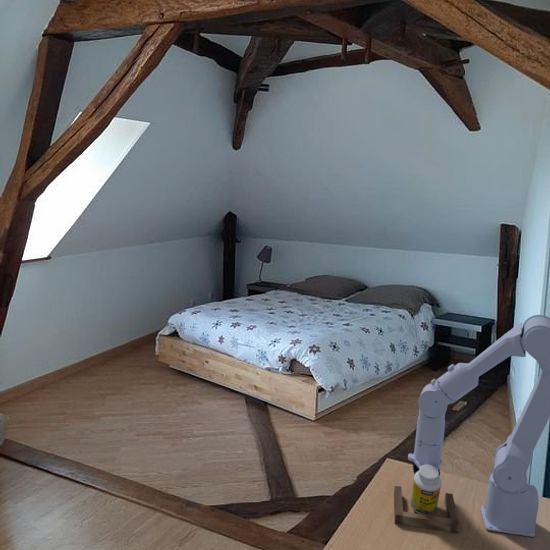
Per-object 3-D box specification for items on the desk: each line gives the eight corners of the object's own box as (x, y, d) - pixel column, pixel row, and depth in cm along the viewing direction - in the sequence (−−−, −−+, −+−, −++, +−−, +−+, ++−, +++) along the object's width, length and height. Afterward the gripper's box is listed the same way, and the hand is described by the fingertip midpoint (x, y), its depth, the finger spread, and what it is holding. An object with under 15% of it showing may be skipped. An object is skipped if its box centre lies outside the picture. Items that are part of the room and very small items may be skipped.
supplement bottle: (415, 518, 120) (420, 482, 115) (406, 496, 125) (411, 462, 120) (440, 515, 120) (447, 480, 116) (431, 494, 125) (437, 460, 120)
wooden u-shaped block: (451, 502, 126) (452, 493, 125) (458, 533, 115) (459, 524, 115) (393, 493, 128) (394, 485, 127) (394, 523, 117) (395, 514, 117)
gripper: (408, 422, 131) (403, 476, 133) (411, 453, 117) (405, 512, 119) (440, 426, 129) (434, 480, 132) (447, 457, 115) (440, 518, 118)
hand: (423, 496), depth 126 cm, fingers closed
